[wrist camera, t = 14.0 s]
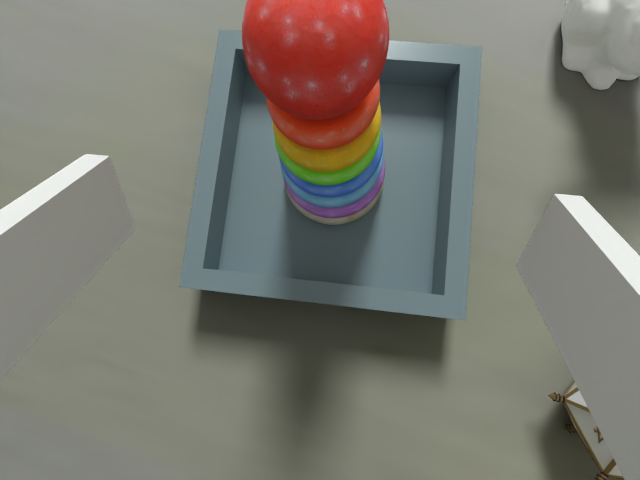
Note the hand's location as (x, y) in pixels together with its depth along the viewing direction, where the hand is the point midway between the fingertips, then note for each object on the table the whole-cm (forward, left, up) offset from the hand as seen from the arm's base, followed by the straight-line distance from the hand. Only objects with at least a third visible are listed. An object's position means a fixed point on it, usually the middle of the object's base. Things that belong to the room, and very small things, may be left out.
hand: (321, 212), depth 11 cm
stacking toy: (0, +6, -17) cm, 18 cm away
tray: (0, +6, -18) cm, 19 cm away
